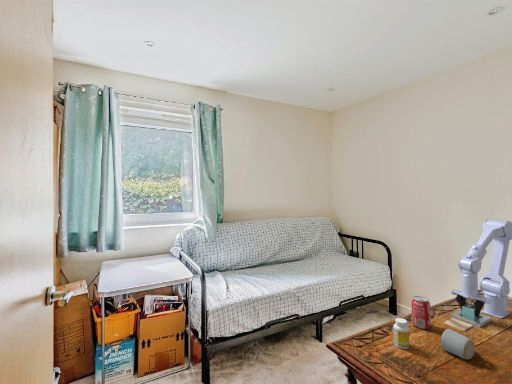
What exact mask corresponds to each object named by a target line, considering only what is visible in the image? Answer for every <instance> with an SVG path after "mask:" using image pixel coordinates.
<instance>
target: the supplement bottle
mask: <svg viewBox="0 0 512 384" xmlns="http://www.w3.org/2000/svg"><path fill="white" fill-rule="evenodd" d="M394 321H395V323H394V324H393V328H392V330H393V344H394V346H395V347H397V348H400V349H404V350H406V349H409V348H410V328H409V326H408V320H407V319H405V318H401V317H400V318H399V317H397V318H395V320H394Z"/></svg>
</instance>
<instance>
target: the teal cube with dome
mask: <svg viewBox="0 0 512 384" xmlns="http://www.w3.org/2000/svg"><path fill="white" fill-rule="evenodd" d="M462 316H463V317H466V318H469V319H472V320H475V321H477V320H479V317H478V318H476V317H475V306H474V303H466V305H464V306H462Z"/></svg>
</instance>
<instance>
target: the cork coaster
mask: <svg viewBox="0 0 512 384" xmlns="http://www.w3.org/2000/svg"><path fill="white" fill-rule="evenodd" d="M442 324H443V325H446V326H449V327H452V328H454V329H456V330H459V331H461V332H465V331H468V330H469V329H471V328H473V327H474V325H471V324H469V323H466V322H463V321H460V320H457V319H454V318H451V317H450V318H449V319H447V320H445V321H444V322H443V323H442Z"/></svg>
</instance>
